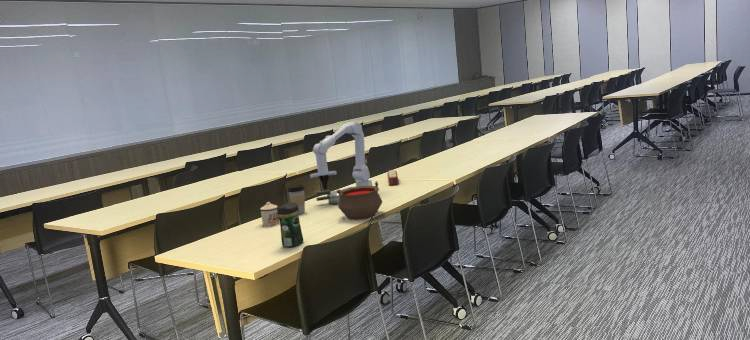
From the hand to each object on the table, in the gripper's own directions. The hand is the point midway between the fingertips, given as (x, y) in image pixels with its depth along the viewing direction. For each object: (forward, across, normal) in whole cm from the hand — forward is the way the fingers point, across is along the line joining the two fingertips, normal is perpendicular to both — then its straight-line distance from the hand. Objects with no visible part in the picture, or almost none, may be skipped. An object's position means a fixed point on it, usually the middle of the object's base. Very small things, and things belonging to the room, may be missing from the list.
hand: (325, 188), depth 322 cm
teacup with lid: (+10, +30, +23) cm, 39 cm away
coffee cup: (+10, +16, +8) cm, 21 cm away
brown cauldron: (+10, -14, +36) cm, 40 cm away
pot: (+10, -6, -5) cm, 12 cm away
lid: (+5, -5, -5) cm, 9 cm away
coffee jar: (+10, +22, +68) cm, 72 cm away
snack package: (+10, -46, -39) cm, 61 cm away
